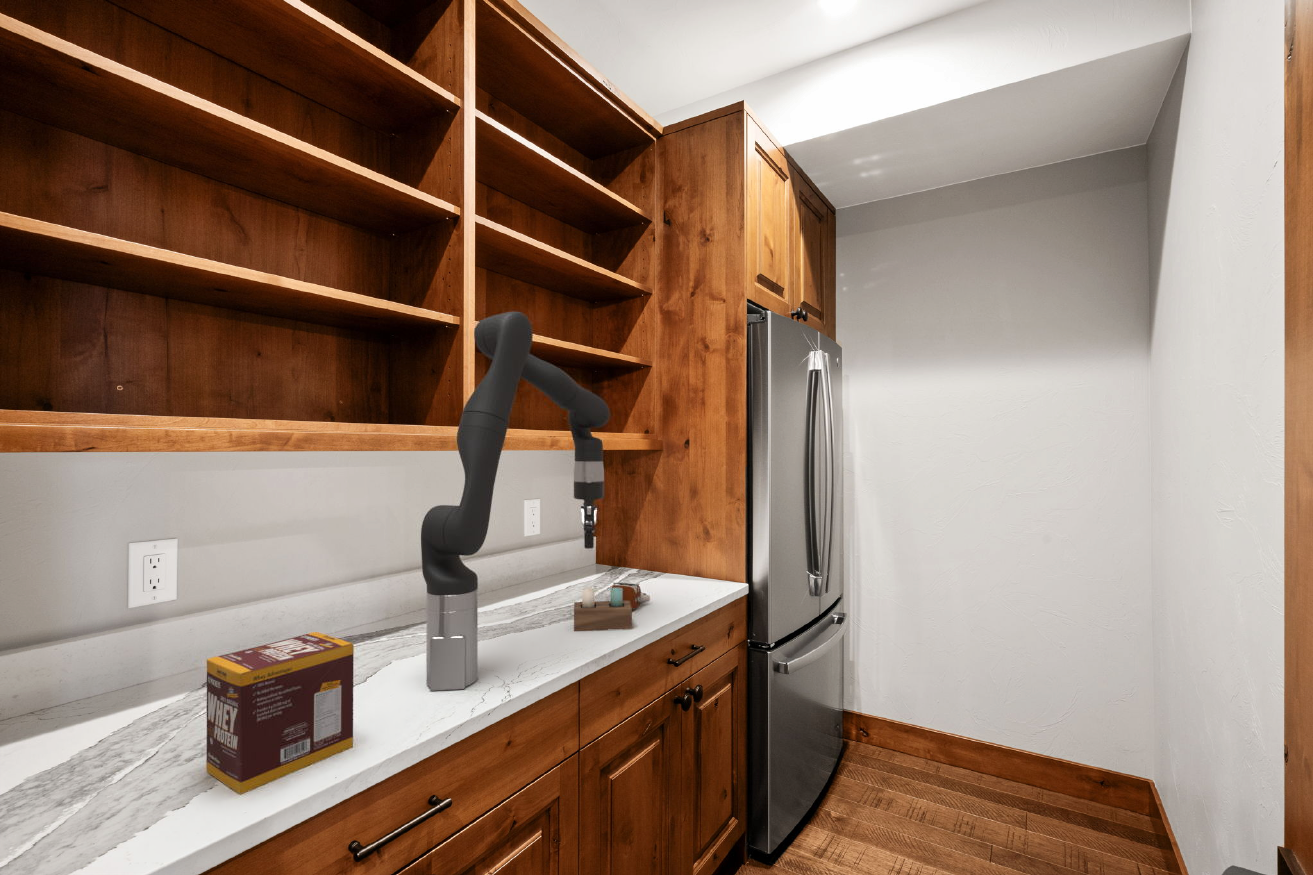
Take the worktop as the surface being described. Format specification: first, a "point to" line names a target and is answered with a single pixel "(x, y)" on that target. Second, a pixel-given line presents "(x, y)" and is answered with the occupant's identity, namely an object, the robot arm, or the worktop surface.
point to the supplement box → (278, 709)
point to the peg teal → (616, 597)
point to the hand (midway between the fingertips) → (588, 545)
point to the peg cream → (588, 598)
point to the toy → (632, 594)
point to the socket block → (602, 616)
